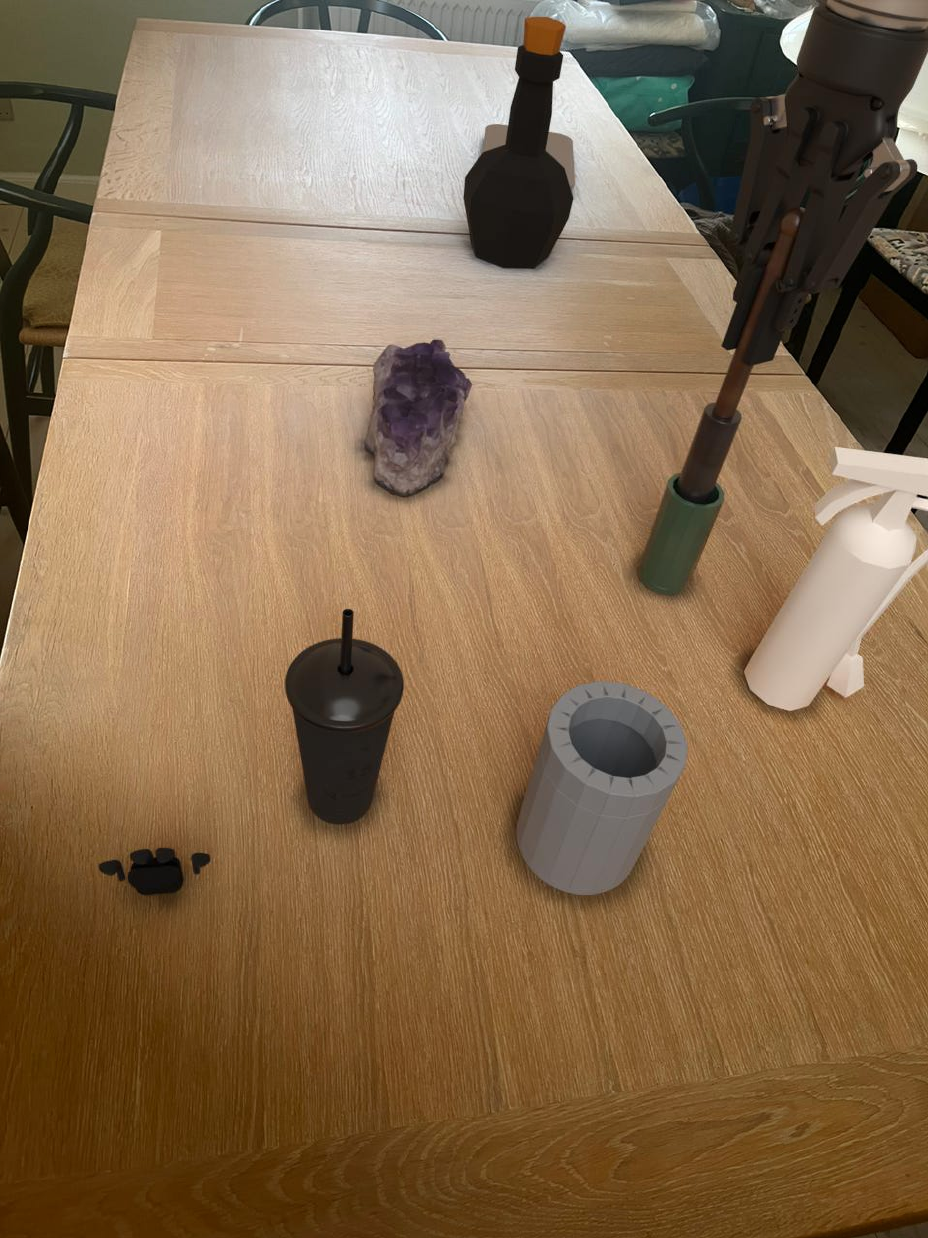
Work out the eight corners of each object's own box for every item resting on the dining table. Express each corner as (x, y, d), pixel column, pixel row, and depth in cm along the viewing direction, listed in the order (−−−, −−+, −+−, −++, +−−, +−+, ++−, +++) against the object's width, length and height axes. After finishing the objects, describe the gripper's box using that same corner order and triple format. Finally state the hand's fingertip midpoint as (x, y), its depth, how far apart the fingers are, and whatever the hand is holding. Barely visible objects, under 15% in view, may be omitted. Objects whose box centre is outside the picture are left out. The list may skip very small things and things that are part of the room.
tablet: (477, 188, 154) (479, 174, 152) (484, 134, 172) (486, 121, 170) (572, 202, 155) (575, 188, 153) (569, 147, 173) (572, 135, 171)
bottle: (447, 263, 133) (473, 25, 112) (467, 219, 145) (494, -5, 123) (555, 284, 133) (602, 49, 111) (566, 239, 144) (611, 17, 123)
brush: (675, 481, 85) (779, 195, 66) (709, 490, 85) (823, 204, 66) (672, 502, 83) (779, 211, 64) (707, 510, 83) (825, 221, 64)
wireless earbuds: (213, 872, 64) (208, 835, 60) (213, 906, 62) (207, 869, 58) (107, 882, 62) (95, 844, 59) (103, 917, 61) (90, 880, 57)
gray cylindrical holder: (642, 804, 72) (691, 700, 63) (629, 911, 66) (682, 813, 56) (528, 773, 73) (560, 666, 64) (504, 876, 66) (536, 774, 57)
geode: (468, 506, 95) (466, 427, 88) (357, 504, 96) (346, 425, 88) (474, 393, 109) (474, 315, 101) (377, 392, 109) (369, 315, 102)
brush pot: (690, 566, 93) (725, 479, 85) (686, 601, 89) (723, 513, 81) (639, 553, 93) (670, 466, 85) (634, 588, 90) (665, 499, 82)
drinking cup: (267, 789, 69) (257, 601, 55) (349, 739, 73) (359, 552, 59) (329, 861, 65) (335, 681, 51) (411, 804, 69) (437, 623, 55)
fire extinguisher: (861, 731, 80) (1020, 510, 62) (724, 700, 81) (842, 471, 63) (853, 674, 85) (998, 453, 67) (724, 645, 85) (834, 418, 68)
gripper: (751, -23, 59) (653, 316, 76) (936, 51, 51) (779, 412, 68) (830, -23, 62) (718, 302, 79) (1014, 47, 54) (846, 392, 71)
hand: (747, 352), depth 73 cm, fingers closed on brush, 2 cm apart
